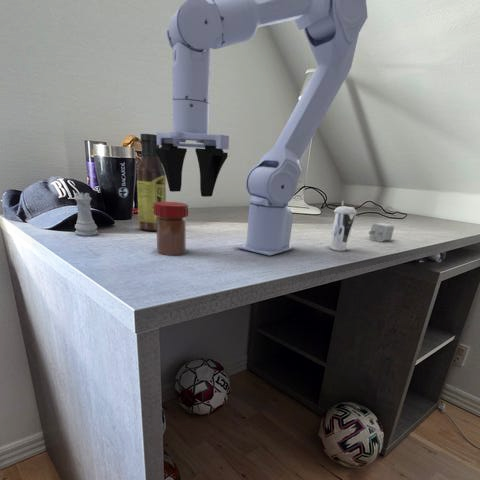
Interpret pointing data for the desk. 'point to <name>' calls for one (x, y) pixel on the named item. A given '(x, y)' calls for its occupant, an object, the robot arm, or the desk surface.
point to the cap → (171, 209)
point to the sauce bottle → (149, 182)
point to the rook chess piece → (84, 216)
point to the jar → (171, 235)
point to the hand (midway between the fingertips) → (190, 193)
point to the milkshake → (342, 226)
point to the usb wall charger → (381, 232)
